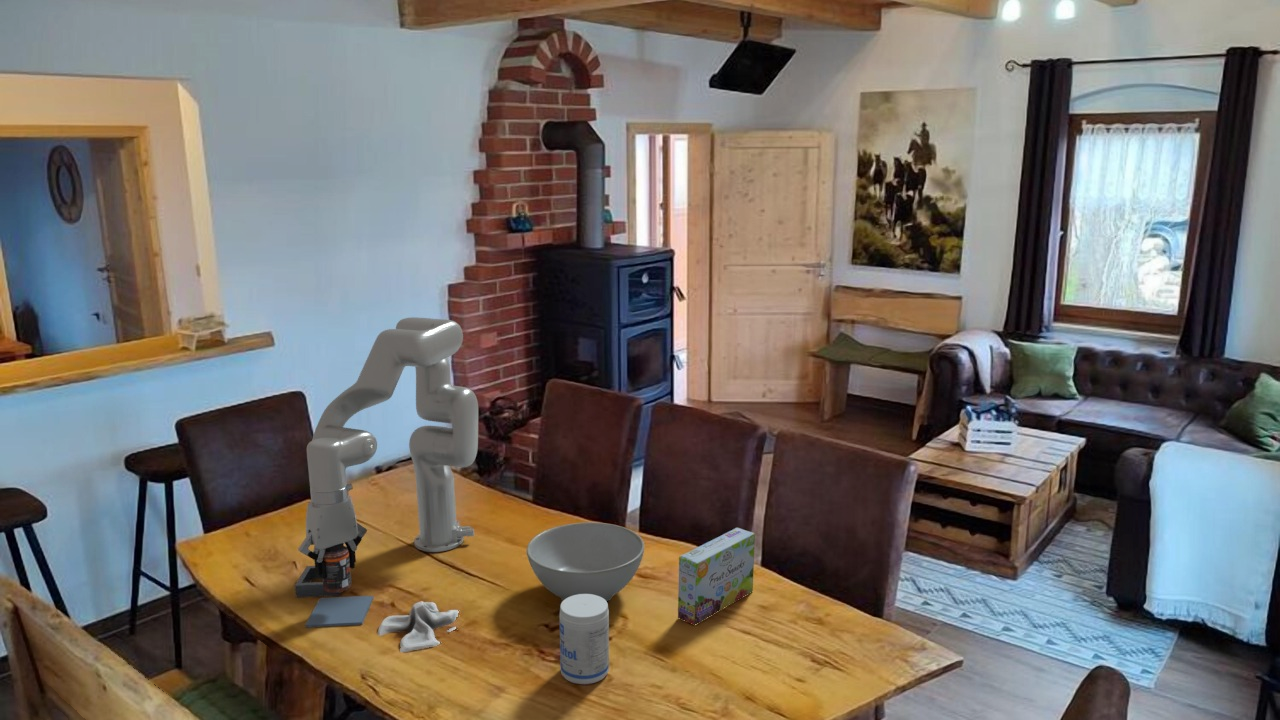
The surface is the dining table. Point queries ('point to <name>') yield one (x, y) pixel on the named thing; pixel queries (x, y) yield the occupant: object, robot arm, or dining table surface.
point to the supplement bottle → (337, 569)
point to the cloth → (419, 625)
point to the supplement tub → (584, 638)
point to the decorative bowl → (585, 558)
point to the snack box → (715, 575)
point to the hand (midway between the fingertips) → (336, 570)
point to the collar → (311, 585)
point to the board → (340, 611)
